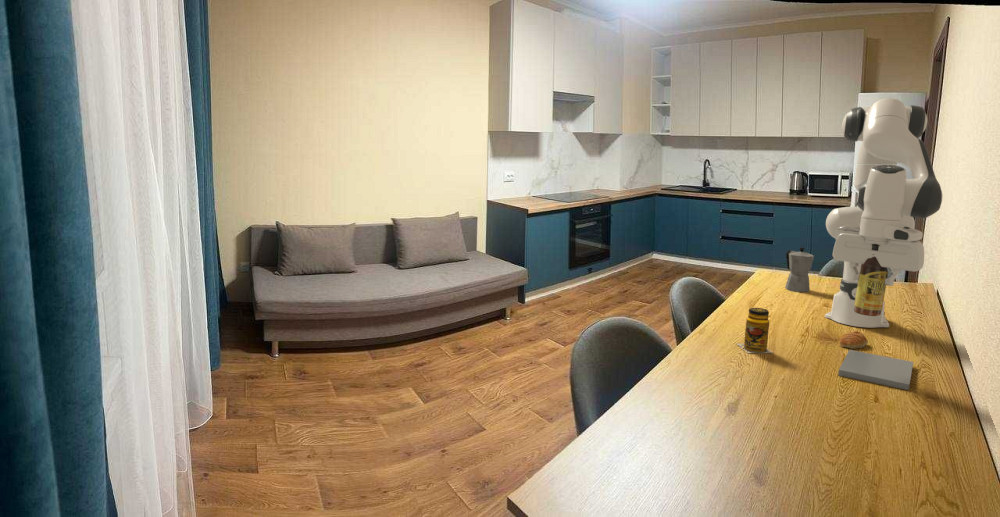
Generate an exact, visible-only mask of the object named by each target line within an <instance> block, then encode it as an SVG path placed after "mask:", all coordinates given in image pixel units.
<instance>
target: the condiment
mask: <svg viewBox="0 0 1000 517" xmlns="http://www.w3.org/2000/svg"><path fill="white" fill-rule="evenodd" d="M769 313H770V312H769V310H768V309H767V308H766V309H765V308H762V307H751V308H749V309H748V314H747V317H746V322H745V329H744V330H745V331H744V342H743V343H735V344H736V345H737V346H739V348H740V349H742V350H743V351H745V350H746V351H745V352H746V353H748V354H774V353H773V351H772V350H770V349H768V339H769V330H770V328H769V327H770V320H769V317H770V316H769ZM743 346H744V349H743ZM747 351H748V352H747Z"/></svg>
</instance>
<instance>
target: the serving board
mask: <svg viewBox="0 0 1000 517" xmlns="http://www.w3.org/2000/svg"><path fill="white" fill-rule="evenodd" d="M913 366H914V361H911V360H910V361H909V360H906V359H900V358H895V357H889V356H883V355H880V354H879V355H878V354H875V353H874V354H873V353H868V352H863V351H859V350H854V349H848V352H847V354H846V355H845V357H844V359H843V361H842V363H841V364H840V367H839V369H838V374H837V376H839V377H845V378H848V379H854V380H858V381H864V382H867V383H872V384H877V385H882V386H887V387H892V388H895V389H901V390H904V391H905V390H906V391H909V389H910V383H911V379H912V372H913Z"/></svg>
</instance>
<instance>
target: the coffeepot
mask: <svg viewBox="0 0 1000 517" xmlns="http://www.w3.org/2000/svg"><path fill="white" fill-rule="evenodd" d="M804 250H805V248H804V247H802V246H801V247H800V248H799V251H796V250H790V249H789V250H788V251H786V253H785V258H786V266H787V267H786V268H787V269H788V270H790V273H788V277H787V281H786V283H785V287H784V288H785V289H786V290H787V291H790V292H794V293H809V292H810V291H811V290H810V276H809V272H810V271H811V269H812V265H813V261H814V258H815V255H813V254H811V253H808V252H805V251H804Z"/></svg>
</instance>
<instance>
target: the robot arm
mask: <svg viewBox="0 0 1000 517" xmlns="http://www.w3.org/2000/svg"><path fill="white" fill-rule="evenodd" d="M927 125H928V116H927V113H926V109H925V108H924V107H922V106H919V105H912V104H911V105H905V104H904V102H902V101H900V100H899V99H896V98H894V97H885V98H881V99H879V100H877V101H875V102H874V103H873V104H872V105H871V106H867V107H865V106H864V107H862V106H859V107H854V108H851V109H850V110H848V111H847V112H846V114H845V116H844V117H843V120H842V122H841V130H842V134H843V137H844V138H845V140H848V141H850V142H851V141H852V142H858V141H859V142H861V144H860V147H859V152H858V154H857V162H856V168H855V169H856V170H855V176H854V177H855V178H854V188H855V190H856V191H857V192H858V193H857V194H858V195H857V202H856V203H855V204H856V206H844V207H843V206H842V207H838V208H837V207H836V208H833V209H832V210H831V211H830V212H829V213H828V215H827V217H826V220H825V228H826V231H827V232H828V235H830V236H831V237H832V238H833V239H834V240H835V242H834V246H833V250H832V257H833V259H834V261H840V262H843V272H842V278H841V279H840V283H839V285H840V286H839V291H838V292H836V293H835V294H834V295H833V299H832V306H831V311H829V312H827V313H825V314H824V318H826V319H830V320H833V321H834V322H836V323H839V324H843V325H846V326H852V327H858V328H869V329H870V328H871V329H872V328H873V329H874V328H890V323H889V322H888V320H887V318H886V317H885V315H886V314H885V313H886V312H885V303H886V302H885V301H883V307H882V310H881V314H880V315H879V316H867V315H861V314H858V313H856V312H855V311H854V308H855V305H854V304H855V298H856V292H857V286H858V279H859V273H860V270H861V264H864V262H865V261H866V260H867V259H868V258H872V257H876V258H877V260H878V262H879V264H880V265H881V267H886V268H887V269H891V271H890V272H891V273H892V274H891V276H890V277H887V278H885V285H886V286H889V287H892V286H894V284H895V279H896V278H897V277H898V276H899V275H900V274H901V271H907V272H919V271H920V270H922V269H923V268H924V262H925V246H924V244H923V243H922V242H921V241H920V240H921V239H923V232H922V231H921V230H918V229H915V225H916V222H915V218H917V219H918V218H919V219H926V218H928V217H931V216H933V215H935V214H936V213H937V212H938V211H939V210H940V209H941V206H942V202H943V191H942V187H941V185H940V183H939V181H938V180H937V177H936V174H935V172H934V167H933V164H932V161H931V158H930V155H929V153H928V152H929V151H928V149H927V147H926V144H925V143H924V141H923V140H922V139H920V138H921V137H922V136H923V134H924V132H925V130H926V128H927ZM898 164H900V165H903V166H906V167H907V168H908V169H910V172H911V175H912V178H907V170H906V168H904V167H902V166H899V165H898ZM871 244H878V245H880V246H879V249H878V251H874V250H872V245H871ZM872 254H874V255H872Z"/></svg>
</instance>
